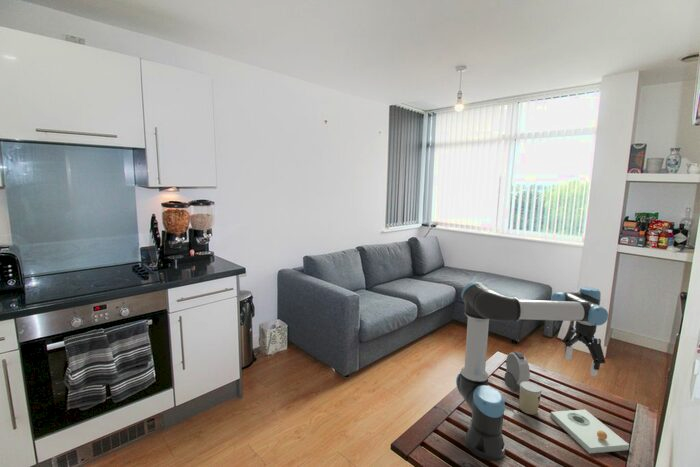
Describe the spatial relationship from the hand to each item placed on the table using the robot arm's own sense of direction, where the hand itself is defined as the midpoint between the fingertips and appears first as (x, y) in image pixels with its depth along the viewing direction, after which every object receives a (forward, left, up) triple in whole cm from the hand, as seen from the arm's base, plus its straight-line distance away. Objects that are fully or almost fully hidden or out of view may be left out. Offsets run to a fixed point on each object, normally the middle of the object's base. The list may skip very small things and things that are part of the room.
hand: (580, 367), depth 150 cm
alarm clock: (-8, +30, -27) cm, 41 cm away
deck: (+1, -7, -27) cm, 28 cm away
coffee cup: (-15, +10, -27) cm, 33 cm away
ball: (+1, -14, -22) cm, 26 cm away
